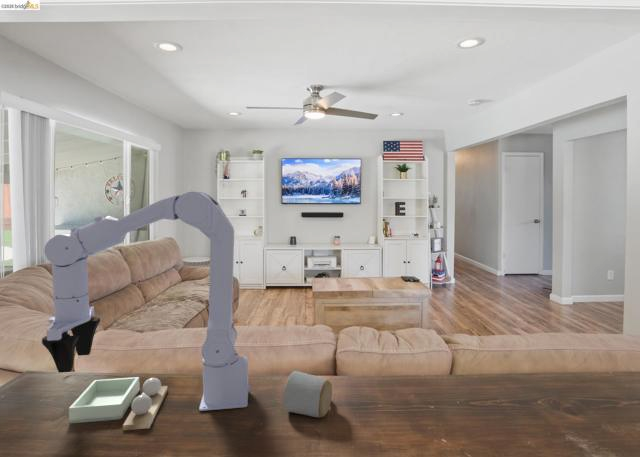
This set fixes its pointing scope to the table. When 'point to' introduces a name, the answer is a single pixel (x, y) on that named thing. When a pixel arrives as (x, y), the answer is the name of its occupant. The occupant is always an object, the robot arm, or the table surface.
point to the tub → (104, 400)
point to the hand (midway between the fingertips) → (75, 362)
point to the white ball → (151, 386)
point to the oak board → (147, 418)
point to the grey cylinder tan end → (307, 394)
